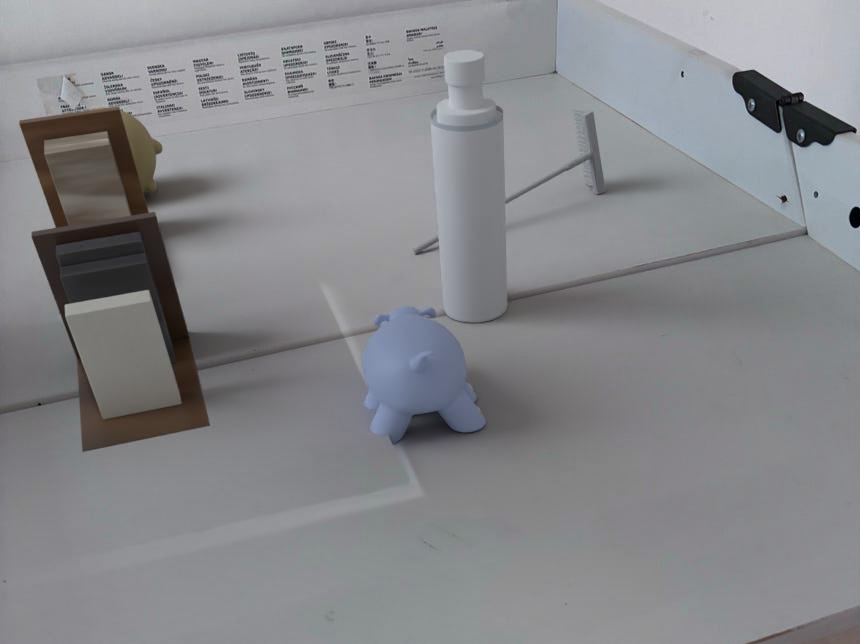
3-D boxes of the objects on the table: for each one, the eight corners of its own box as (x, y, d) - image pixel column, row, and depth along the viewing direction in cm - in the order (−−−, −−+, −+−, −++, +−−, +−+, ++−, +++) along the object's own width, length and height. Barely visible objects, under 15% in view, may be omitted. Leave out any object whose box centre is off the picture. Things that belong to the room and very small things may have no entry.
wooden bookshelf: (60, 237, 118) (19, 120, 109) (151, 222, 120) (119, 106, 111) (63, 301, 106) (16, 176, 97) (164, 284, 108) (129, 159, 99)
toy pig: (115, 215, 131) (39, 177, 123) (149, 129, 128) (74, 83, 120) (148, 235, 126) (70, 195, 117) (184, 144, 123) (107, 98, 114)
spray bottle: (464, 329, 98) (449, 51, 80) (432, 304, 102) (410, 33, 84) (519, 310, 101) (516, 35, 83) (485, 286, 105) (475, 19, 87)
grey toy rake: (411, 283, 117) (387, 206, 110) (587, 184, 123) (574, 106, 117) (427, 291, 114) (404, 213, 107) (606, 190, 121) (594, 110, 114)
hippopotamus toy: (461, 358, 94) (455, 263, 88) (494, 444, 84) (491, 344, 77) (351, 374, 93) (336, 279, 86) (371, 463, 83) (357, 363, 76)
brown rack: (80, 363, 97) (31, 231, 87) (191, 342, 99) (155, 211, 89) (86, 462, 85) (30, 322, 75) (212, 436, 87) (173, 296, 77)
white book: (102, 407, 89) (64, 304, 81) (179, 392, 90) (148, 289, 83) (103, 420, 87) (64, 316, 80) (182, 404, 88) (150, 300, 81)
